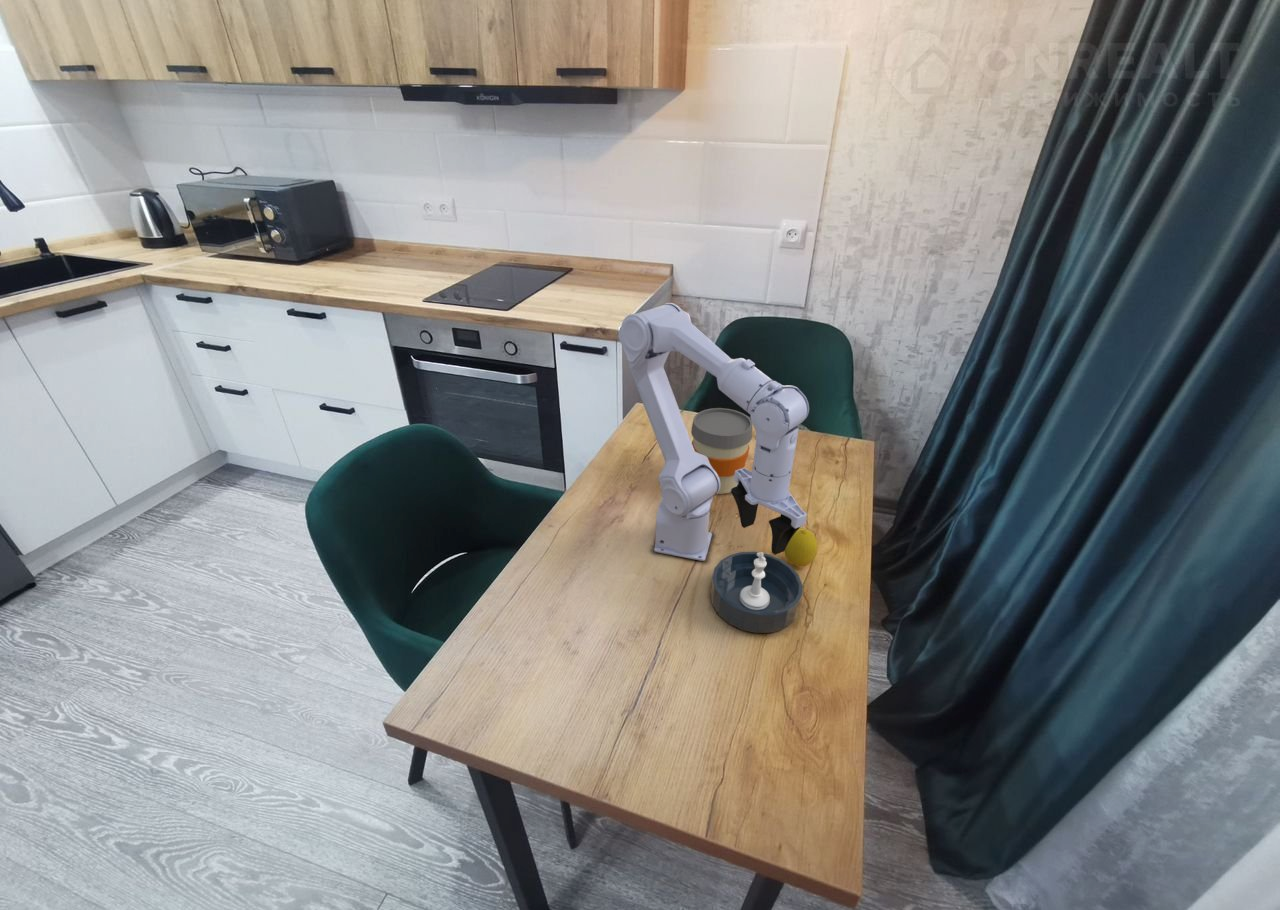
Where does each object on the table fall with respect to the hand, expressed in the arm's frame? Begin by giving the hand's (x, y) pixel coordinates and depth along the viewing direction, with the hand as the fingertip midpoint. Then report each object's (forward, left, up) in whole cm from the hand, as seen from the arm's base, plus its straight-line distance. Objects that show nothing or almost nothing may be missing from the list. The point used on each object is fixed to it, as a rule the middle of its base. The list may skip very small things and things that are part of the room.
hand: (762, 538), depth 91 cm
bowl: (0, -4, -10) cm, 11 cm away
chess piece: (0, -4, -10) cm, 11 cm away
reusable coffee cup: (-11, +29, -11) cm, 33 cm away
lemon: (+7, +7, -11) cm, 14 cm away
